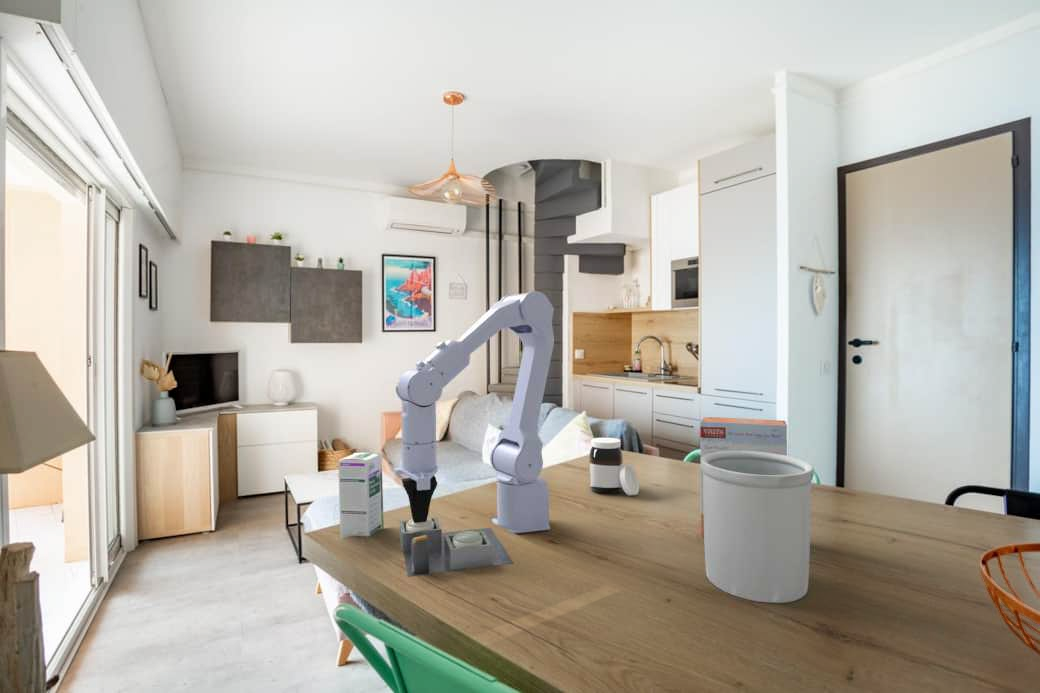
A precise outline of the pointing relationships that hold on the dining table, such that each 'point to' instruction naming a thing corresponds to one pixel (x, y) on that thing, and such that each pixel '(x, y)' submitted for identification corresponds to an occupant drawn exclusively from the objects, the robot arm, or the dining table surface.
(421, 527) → the knob cream
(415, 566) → the dial post
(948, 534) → the dining table surface
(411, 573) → the mount panel
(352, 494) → the syrup box
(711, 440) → the cracker box
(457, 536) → the knob sage
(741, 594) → the utensil holder
